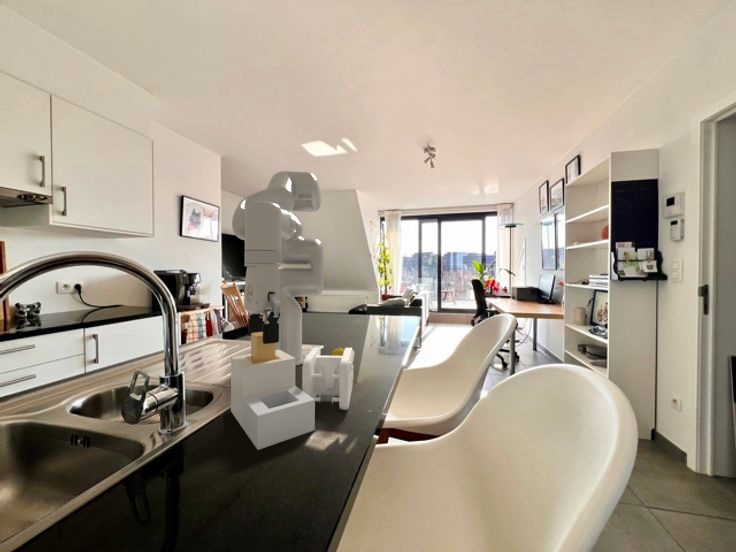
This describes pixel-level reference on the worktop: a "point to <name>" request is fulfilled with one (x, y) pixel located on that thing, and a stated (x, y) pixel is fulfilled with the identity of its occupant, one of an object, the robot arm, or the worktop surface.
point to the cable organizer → (329, 376)
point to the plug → (261, 349)
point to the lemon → (338, 352)
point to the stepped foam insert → (269, 400)
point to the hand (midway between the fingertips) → (262, 339)
